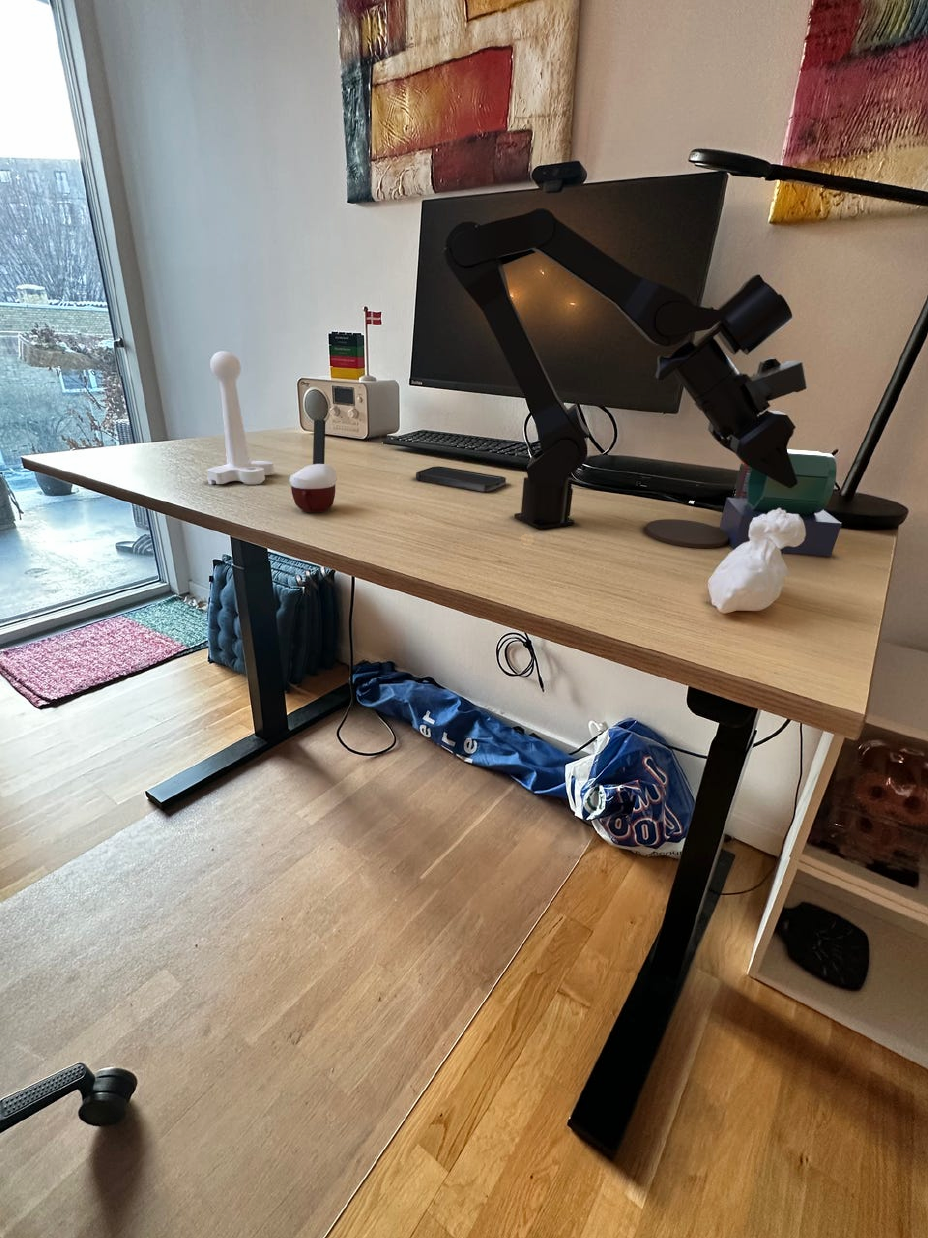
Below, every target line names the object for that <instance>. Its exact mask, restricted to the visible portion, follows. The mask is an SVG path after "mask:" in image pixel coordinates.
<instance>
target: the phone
mask: <svg viewBox="0 0 928 1238" xmlns="http://www.w3.org/2000/svg"><path fill="white" fill-rule="evenodd" d="M415 480H416V481H421V482H427V483H433V484H437V485H443V486H448V487H454V488H461V489H466V490H471V491H477V492H483V493H489V492H492V491H494V490H497V489H500V488H501V487H504V486H505V485H506V483H507V477H506V476H500V475H494V474H488V473H483V472H476V471H472V470H471V471H470V470H465V469H459V468H452V467H448V466H447V467H445V466H441V465H440V466H439V465H438V466H432V467H429V468H425V469H422V470H419V471H416V472H415Z"/></svg>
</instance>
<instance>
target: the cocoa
mask: <svg viewBox="0 0 928 1238" xmlns="http://www.w3.org/2000/svg"><path fill="white" fill-rule="evenodd" d="M312 448H313V449H312V464H309V465H306V466H305V467H303V468H301V469H300V470H298V471H297V472H294V473H292V474H291V475H290V477H289V478H288V479H289V480H288V482H289V484H290V490H291V491H290V492H291V495H292V499H293V502H294V504H295V506H296V507H297V508H298V509H299V510H301V511H303V512H305V513H322V512H326V511H328V510H329V509H331V508H332V507H333V505H334V502H335V497H336V482H337V481H338V478H337V471H336V470H335V469H334V468H333V467H332V466H331V465H329V464H325V453H326V452H325V451H326V420H325V419H319V418H318V419H317V418H315V419H314V421H313V444H312Z"/></svg>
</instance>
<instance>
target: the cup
mask: <svg viewBox="0 0 928 1238" xmlns="http://www.w3.org/2000/svg"><path fill="white" fill-rule="evenodd" d="M787 451H788V454H789V458H790V461H791V464H792V466H793V469H794V472H795V475H796V478H797V481H798V483H797V485H795V486H794V487H792V488H788V487H786V486H784V485H782V484H781V483H779V482H777V481H775V480H773V479H772V478H770V477H768V476H766V475H764V474H762V473H761V472H759V471H757V470H755V469H753V468H751V471H750V475H749V479H748V483H747V484H748V485H747V505H748V506H749V507H750V508H751V509H752V510H758V511H772V510H777V509H778V508H781V509H782V510H785V511H786V513H794V514H806V515H809V514H810V513H815V514H816V513H819V512H821V511H822V510H824V509H825V508H826V506H827V505H828V504H829V502H830V500H831V498H832V495H833V492H834V489H835V486H836V481H837V474H838V473H837V469H838V466H837V461H836V458H835V456H834V455H833V454H832V453H827V452H825V453H824V452H820V451H816V450H804V449H803V450H801V449H788V448H787Z"/></svg>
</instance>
